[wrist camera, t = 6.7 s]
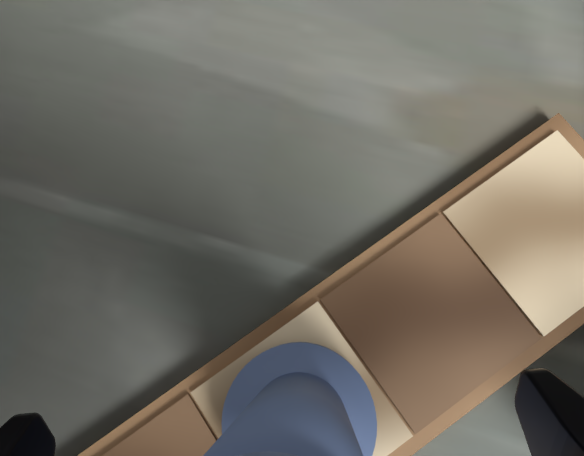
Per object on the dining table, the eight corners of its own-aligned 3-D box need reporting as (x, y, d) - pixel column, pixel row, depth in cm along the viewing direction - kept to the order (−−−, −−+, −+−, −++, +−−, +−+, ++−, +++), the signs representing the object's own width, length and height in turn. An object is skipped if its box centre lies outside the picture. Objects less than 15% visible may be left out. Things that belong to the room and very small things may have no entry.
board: (670, 250, 17) (687, 246, 16) (134, 659, 15) (124, 677, 14) (551, 119, 19) (561, 110, 18) (42, 481, 17) (29, 489, 16)
